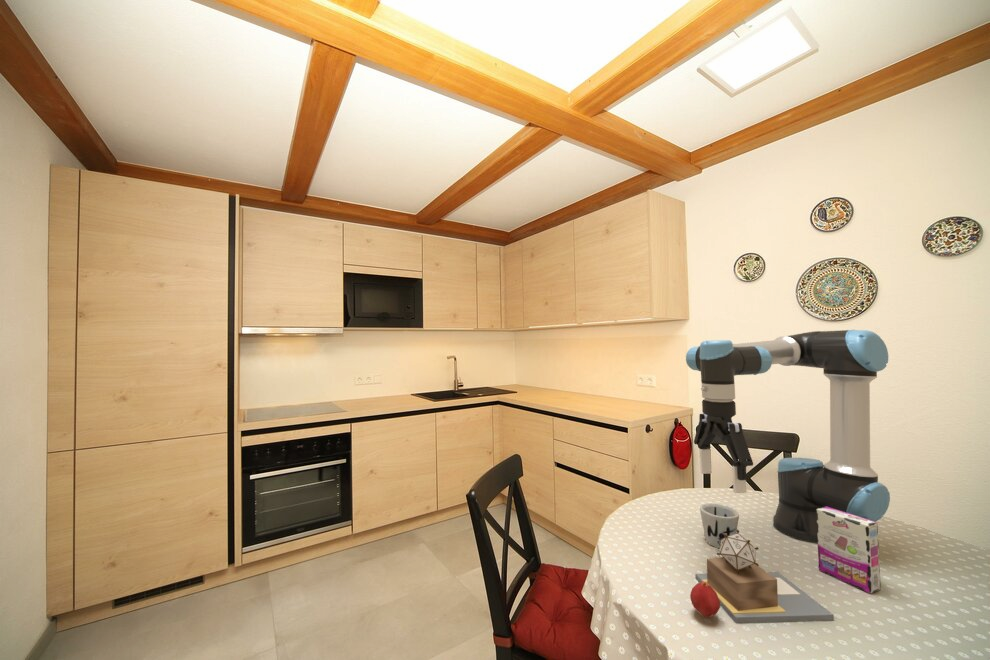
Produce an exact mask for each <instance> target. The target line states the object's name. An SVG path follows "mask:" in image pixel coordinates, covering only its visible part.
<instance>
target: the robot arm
mask: <svg viewBox="0 0 990 660" xmlns="http://www.w3.org/2000/svg"><path fill="white" fill-rule="evenodd" d="M685 361H686V364H687V366H688V367H689V368H690V369H691V370H693V371H697V372H700V381H701V388H700V390H701V397H702V398H703V399H702V401H701V406H702V409H701V411H702V413H699V415H698V417H699V418H698V419H699V420H698V425H697V428H696V432H695V436H694V440H693V444H694V445H696V446H697V447H698V448H699V462H700V463H699V464H700V473H701V474H703V475H704V474H705V475H706V474H713V473H712V472H713V471H712V468H713V467H712V449H711V448H712V447H711V445H712V443H713V441H714V439H715V437H716V436H717V437H719V438H720V440H721V441H723V443H724V445H725V447H726V449H727V451H728V453H729V455H730V457H731V459H732V461H733V463H732V488H733V490H732V491H733V493H734V494H746V493H747V479H748V478H747V467H750V466H754V462H753V459H752V456H751V452H750V450H749V448H748V443H747V441H746V439H745V436H744V432H743V425H742V423H740V422H734V423H733V419H732V417H735V416H736V415H737V412H736V411H737V409H736V408H737V406H736V405H737V404H736V402H735V401H734V400H735V399H736V385H735V384H736V383H735V376H746V375H747V376H749V375H750V376H751V375H754V376H756V375H759V374H760V375H761V374H765V373H766V372H768V371H769V370H770V369H771V368H772V365H780V366H783V367H785V366H786V367H790V366H794V367H795V366H796V367H797V366H799V367H806V368H815V369H817V368H818V369H823V375H824V376H825V377H826V378H827V379H828V380H829V412H830V413H829V419H830V420H829V421H830V422H829V430H830V431H829V432H830V434H829V435H830V436H829V440H830V443H829V445H830V447H829V448H830V449H829V450H830V451H829V453H830V455H829V456H830V460H828V461H827V462H826V463H823V462H822V461H821V460H819V459H815V458H808V457H783V458H781V459H780V460H779V461H778V462H777V463H778V465H777V472H776V473H777V482H778V505H777V507H776V510H775V513H774V516H773V518H772V523H773V527H774V528H775V530H777V531H778V532H780V533H782V534H784V535H785V536H788V537H789V538H793V539H797V540H800V541H804V542H808V543H815V544H816V543H817V544H818V537H817V513H816V509H819V508H822V507H826V506H827V507H830V508H833V509H836V510H839V511H843V512H846V513H849V514H852V515H855V516H858V517H862V518H865V519H868V520H871V521H874V522H877V521H879V520H881V519H882V518H883V517H884V515H885V514H886V513H887V511H888V509H889V506H890V501H891V496H890V495H891V494H890V491H889V489H888V487H887V486H885V485H884V484H883V483H880V482H879V474H878V473H877V472H876V471H875V470H874V469H873V468H872V467H871V411H870V410H871V403H870V402H871V400H870V399H871V396H870V394H871V393H870V392H871V390H870V388H871V387H870V384H871V382H872V381H874V380H875V379H877V378H878V372H881V371H883V370H885V368H886V367H887V364H888V362H889V351H888V347H887V344H886V343H885V341H884V340H883V339H882V338H881V336H880V335H879V334H877V333H876V332H874V331H871V330H864V329H860V330H859V329H847V330H843V329H842V330H824V331H820V330H816V331H815V330H814V331H808V332H803V333H797V334H791V335H786V336H785V335H783V336H779V337H777V338H775V339H774V340H765V341H764V340H763V341H762V340H761V341H753V342H751V341H750V342H741V343H740V342H739V343H733V342H732V341H731V340H728V339H727V340H726V339H725V340H724V339H722V340H703V341H701V342H700V345H699V346H693V347H690V348H689V349H688V350H687V352H686V355H685Z"/></svg>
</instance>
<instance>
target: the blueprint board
mask: <svg viewBox="0 0 990 660" xmlns="http://www.w3.org/2000/svg"><path fill="white" fill-rule="evenodd" d="M766 572H767V573H769V574H770V575H772V576H773V577H775V578H776V579H777V593H778V606H777V607H768V608H760V609H751V610H742V611H738V610H737V609H735V608H734V607H733V606H732V605H731V604H730V603H729V602H728V601H726V600H725V599H724V598H723V597H722V596H721V595H720V594H719V593H718V592H716V591H715V590H714V591H715V592H716V593H717V595H718V598H719V601H720V608H722V610H723V611H724V612H725V613H727V616H729V618H730V619H732V621H733V622H735V624H748V623H751V624H752V623H782V622H783V623H785V622H787V623H789V622H819V621H821V622H822V621H823V622H824V621H835V617H834V614H833V613H832V612H830V610H828V609H827V608H826V607H824V606H823V605H822V604H821V603H819V602H818V601H816V600H815V599H814V598H813V597H812V596H810V595H809V594H807V593H806V592H805V591H804V590H802V589H801V588H800V587H798V586H797V585H796V584H795V583H794V582H792V581H791V580H790V579H788V578H787V577H786V576H785V575H783V574H782V573H781V572H779V571H766ZM694 576H695V580H696V581H697V582H698V583H701V582H703V581H707V572H706V573H704V572H703V573H695V575H694ZM707 584H708V583H707ZM708 585H709V584H708ZM709 586H710V585H709Z"/></svg>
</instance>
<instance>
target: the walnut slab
mask: <svg viewBox="0 0 990 660" xmlns="http://www.w3.org/2000/svg"><path fill="white" fill-rule="evenodd" d="M751 567H752V569H751V568H749V566H748V567H746V568H743V569H741V570H738V572H739V573H738V574H737V573H736V571H737V570H736V569H735V568H734V567H733V566H732V565H731V564H730V563H729V562H726V560H725V559H724V558H723V557H722V556H721V557H712V558H711V557H710V558H706V573H707V583H708V584H709V585H710V586H711V587H712V588H713V589H714V590H715V591H716V592H718V593H719V594H720V595H721V596H722V597H723V598H724V599H725V600H726V601H728V602H729V603H730V604H731V605H732V606H733V607H734V608H735V609H737V610H738V611H742V610H751V609H760V608H768V607H777V606H778V593H777V579H776V578H775V577H773V576H772V575H770V574H769V573H767V572H768V571H766V570H764V568H762V567H761V566H760V565H759V566H757V565H755V564H753V565H751Z"/></svg>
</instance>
